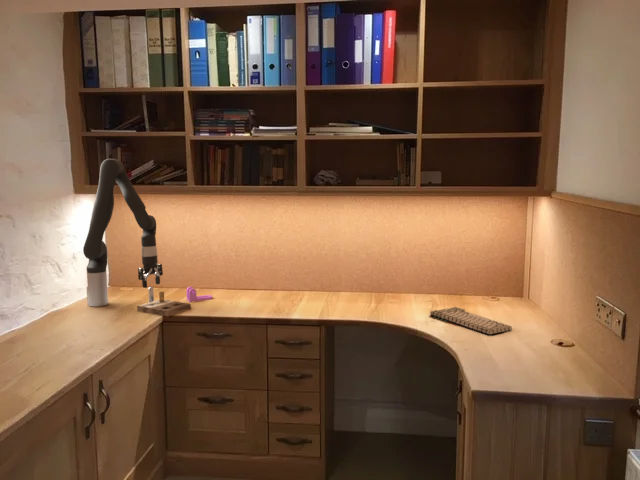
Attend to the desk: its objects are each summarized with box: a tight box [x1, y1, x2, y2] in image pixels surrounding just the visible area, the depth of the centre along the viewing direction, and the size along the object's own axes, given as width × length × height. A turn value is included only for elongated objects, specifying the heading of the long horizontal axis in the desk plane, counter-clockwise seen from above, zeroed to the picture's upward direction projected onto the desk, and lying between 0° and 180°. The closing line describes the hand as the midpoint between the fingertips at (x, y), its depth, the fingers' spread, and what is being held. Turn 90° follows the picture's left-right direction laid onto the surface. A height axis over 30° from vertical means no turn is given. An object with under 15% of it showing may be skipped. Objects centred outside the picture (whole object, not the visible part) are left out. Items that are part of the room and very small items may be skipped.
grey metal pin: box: [147, 286, 155, 303], centre depth 275 cm, size 2×2×9 cm
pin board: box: [136, 291, 192, 317], centre depth 264 cm, size 20×16×8 cm
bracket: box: [186, 286, 213, 303], centre depth 285 cm, size 13×6×7 cm, turn 119°
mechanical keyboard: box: [428, 306, 514, 337], centre depth 243 cm, size 38×19×3 cm, turn 33°
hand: (151, 285), depth 274 cm, fingers open, 8 cm apart
